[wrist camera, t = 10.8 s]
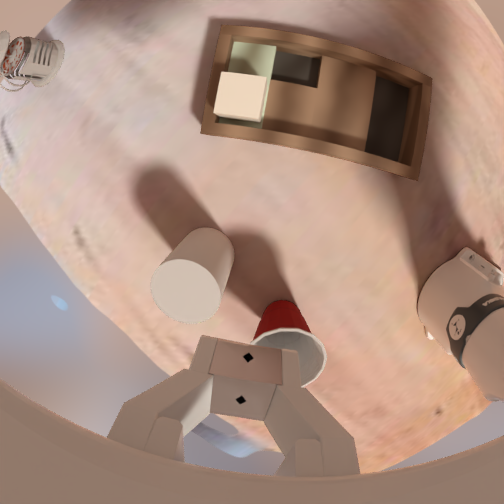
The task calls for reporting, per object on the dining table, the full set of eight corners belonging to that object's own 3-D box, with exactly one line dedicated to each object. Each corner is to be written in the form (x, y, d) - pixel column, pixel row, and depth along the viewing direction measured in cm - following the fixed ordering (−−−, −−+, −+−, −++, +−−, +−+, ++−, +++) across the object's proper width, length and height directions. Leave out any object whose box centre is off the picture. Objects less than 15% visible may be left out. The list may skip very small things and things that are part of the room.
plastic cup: (330, 308, 43) (345, 357, 32) (287, 349, 47) (289, 401, 35) (277, 270, 41) (278, 316, 30) (235, 318, 45) (225, 369, 34)
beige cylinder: (175, 267, 42) (145, 308, 31) (189, 219, 39) (158, 248, 28) (224, 285, 43) (209, 333, 32) (242, 239, 40) (230, 275, 29)
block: (267, 86, 30) (266, 77, 26) (260, 123, 32) (258, 118, 28) (228, 81, 30) (221, 71, 26) (221, 117, 32) (213, 112, 28)
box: (417, 83, 29) (432, 78, 25) (403, 176, 35) (417, 180, 31) (227, 37, 30) (221, 24, 25) (208, 135, 35) (200, 133, 31)
